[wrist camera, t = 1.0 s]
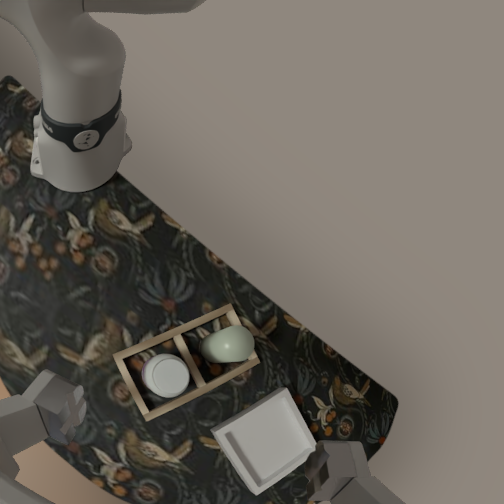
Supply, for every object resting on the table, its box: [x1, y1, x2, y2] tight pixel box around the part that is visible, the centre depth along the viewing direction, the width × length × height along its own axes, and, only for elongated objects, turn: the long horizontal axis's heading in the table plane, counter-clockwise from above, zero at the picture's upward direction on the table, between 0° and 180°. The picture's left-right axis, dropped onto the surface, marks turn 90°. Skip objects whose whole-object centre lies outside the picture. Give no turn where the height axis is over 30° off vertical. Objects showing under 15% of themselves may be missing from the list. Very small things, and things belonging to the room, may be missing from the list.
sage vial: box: [200, 325, 254, 363], centre depth 39 cm, size 4×4×9 cm
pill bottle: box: [142, 354, 189, 397], centre depth 34 cm, size 5×5×10 cm
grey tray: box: [210, 387, 317, 495], centre depth 39 cm, size 13×13×2 cm
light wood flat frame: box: [113, 303, 260, 421], centre depth 40 cm, size 10×19×1 cm, turn 119°
